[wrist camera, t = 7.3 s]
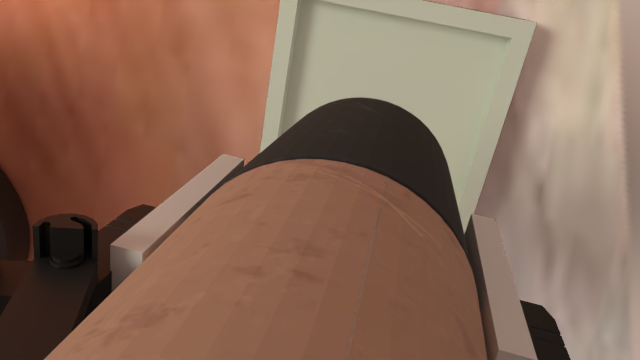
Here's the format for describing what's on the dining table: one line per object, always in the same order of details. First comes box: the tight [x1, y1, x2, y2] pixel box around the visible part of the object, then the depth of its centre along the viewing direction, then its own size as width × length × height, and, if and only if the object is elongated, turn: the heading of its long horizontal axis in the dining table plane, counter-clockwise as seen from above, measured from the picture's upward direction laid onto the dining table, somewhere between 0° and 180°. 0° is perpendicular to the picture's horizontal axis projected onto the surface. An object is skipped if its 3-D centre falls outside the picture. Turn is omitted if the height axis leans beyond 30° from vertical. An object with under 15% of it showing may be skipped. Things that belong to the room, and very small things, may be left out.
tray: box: [260, 0, 537, 234], centre depth 30 cm, size 14×14×2 cm
